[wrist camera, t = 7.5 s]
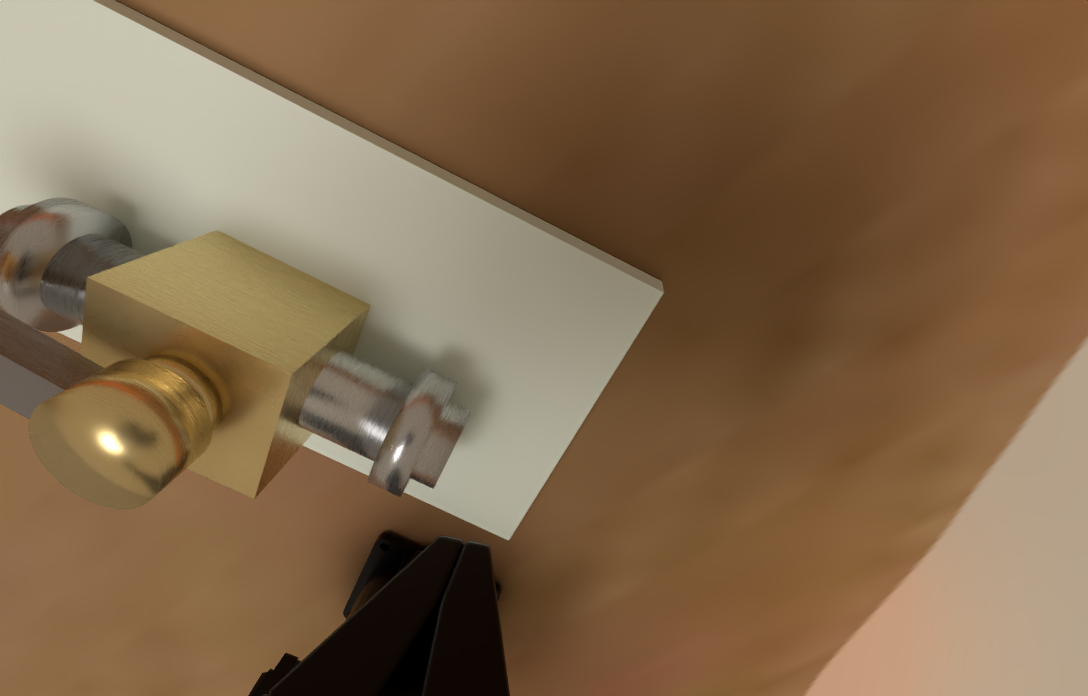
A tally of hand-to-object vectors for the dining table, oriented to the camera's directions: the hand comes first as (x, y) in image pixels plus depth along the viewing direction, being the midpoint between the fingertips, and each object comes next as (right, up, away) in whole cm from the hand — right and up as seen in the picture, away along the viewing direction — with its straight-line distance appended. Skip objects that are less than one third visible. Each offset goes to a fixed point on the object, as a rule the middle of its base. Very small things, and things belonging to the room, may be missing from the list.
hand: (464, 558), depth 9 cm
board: (-8, +6, +13) cm, 16 cm away
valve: (-9, +4, +12) cm, 16 cm away
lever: (-13, +4, +6) cm, 15 cm away
